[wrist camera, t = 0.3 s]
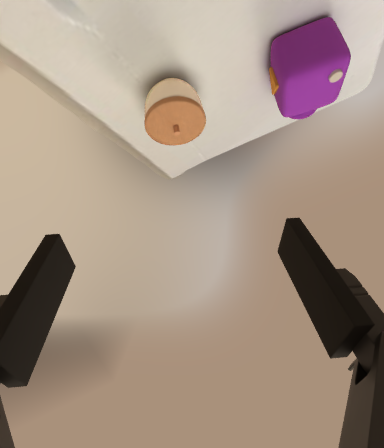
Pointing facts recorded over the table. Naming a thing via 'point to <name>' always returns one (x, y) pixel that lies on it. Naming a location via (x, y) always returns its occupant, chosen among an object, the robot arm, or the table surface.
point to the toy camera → (308, 67)
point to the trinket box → (173, 112)
